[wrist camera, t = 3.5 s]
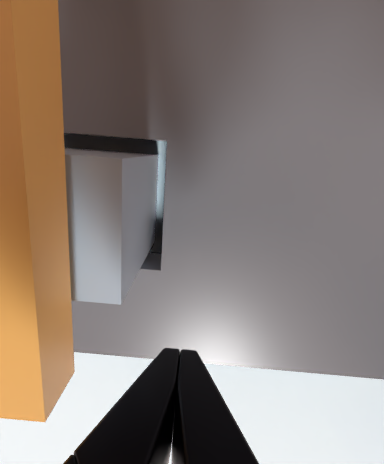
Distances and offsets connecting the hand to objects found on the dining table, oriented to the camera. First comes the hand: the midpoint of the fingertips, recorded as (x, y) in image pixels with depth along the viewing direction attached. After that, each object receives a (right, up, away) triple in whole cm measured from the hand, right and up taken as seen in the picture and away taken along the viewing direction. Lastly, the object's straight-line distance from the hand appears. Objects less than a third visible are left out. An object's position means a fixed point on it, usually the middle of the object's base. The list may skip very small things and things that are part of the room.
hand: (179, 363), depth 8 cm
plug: (-3, +5, +6) cm, 8 cm away
